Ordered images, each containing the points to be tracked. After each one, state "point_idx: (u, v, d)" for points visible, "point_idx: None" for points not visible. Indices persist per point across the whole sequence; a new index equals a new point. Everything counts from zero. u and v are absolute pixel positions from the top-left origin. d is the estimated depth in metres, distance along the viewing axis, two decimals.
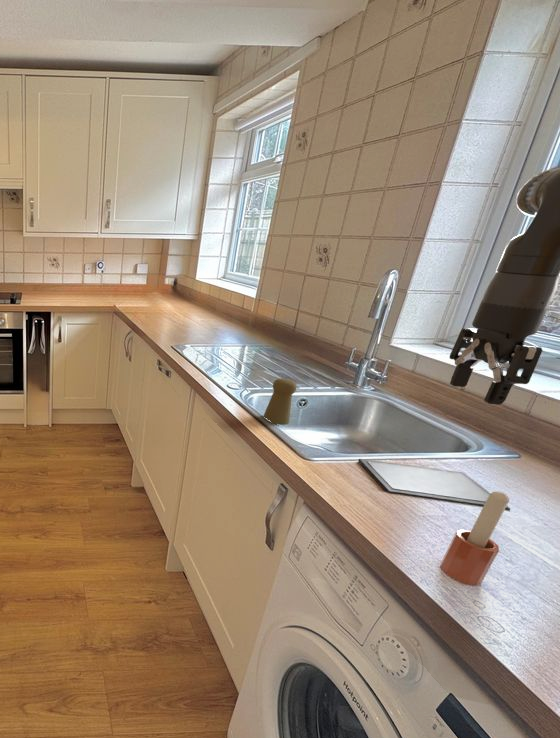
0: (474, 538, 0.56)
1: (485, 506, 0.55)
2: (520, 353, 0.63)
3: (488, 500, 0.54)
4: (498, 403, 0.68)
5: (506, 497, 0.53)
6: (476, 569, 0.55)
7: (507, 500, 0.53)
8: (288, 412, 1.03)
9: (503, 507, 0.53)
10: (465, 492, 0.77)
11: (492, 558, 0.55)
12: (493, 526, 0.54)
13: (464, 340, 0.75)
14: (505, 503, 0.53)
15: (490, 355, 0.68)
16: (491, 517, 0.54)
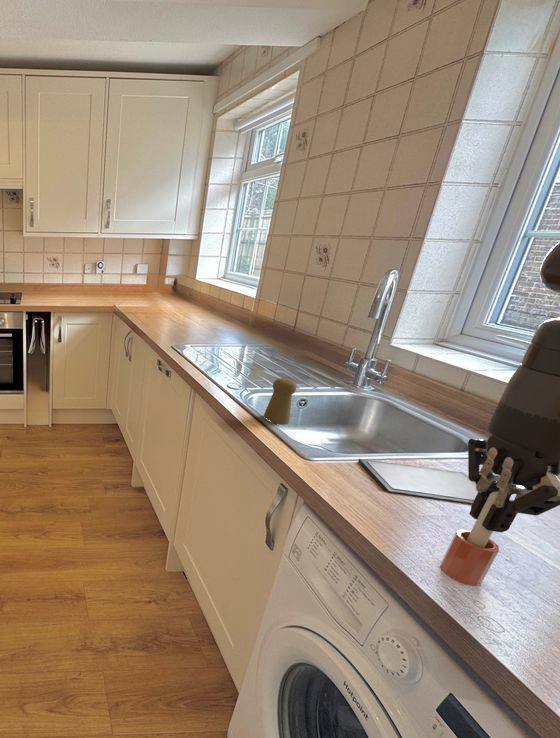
0: (474, 538, 0.56)
1: (485, 506, 0.55)
2: (542, 495, 0.47)
3: (488, 500, 0.54)
4: (500, 530, 0.54)
5: None
6: (476, 569, 0.55)
7: None
8: (288, 412, 1.03)
9: None
10: (465, 492, 0.77)
11: (492, 558, 0.55)
12: None
13: (478, 453, 0.57)
14: None
15: (506, 474, 0.51)
16: None
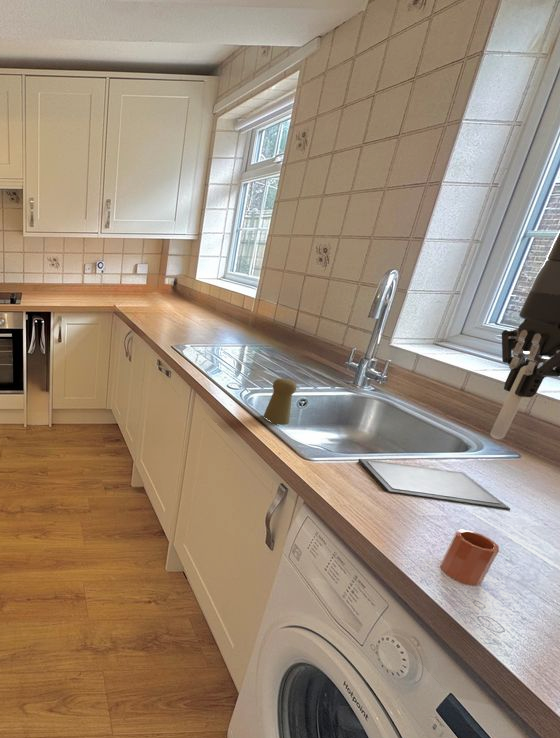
0: (508, 406, 0.71)
1: (517, 378, 0.70)
2: None
3: (519, 373, 0.69)
4: (529, 396, 0.69)
5: None
6: (476, 569, 0.55)
7: None
8: (288, 412, 1.03)
9: None
10: (465, 492, 0.77)
11: (492, 558, 0.55)
12: None
13: (510, 340, 0.72)
14: None
15: (534, 347, 0.66)
16: None
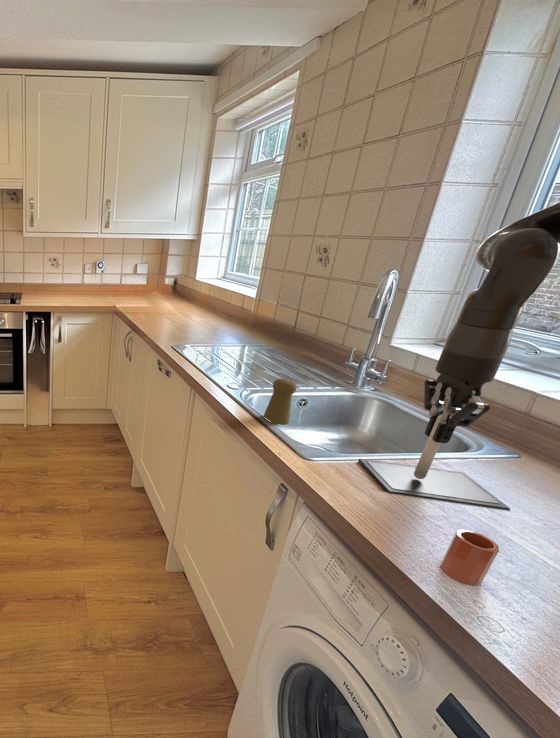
0: (427, 450, 0.78)
1: (434, 425, 0.76)
2: (468, 409, 0.69)
3: (436, 420, 0.76)
4: (444, 442, 0.75)
5: None
6: (476, 569, 0.55)
7: None
8: (288, 412, 1.03)
9: None
10: (465, 492, 0.77)
11: (492, 558, 0.55)
12: None
13: (431, 389, 0.78)
14: None
15: (447, 399, 0.73)
16: None
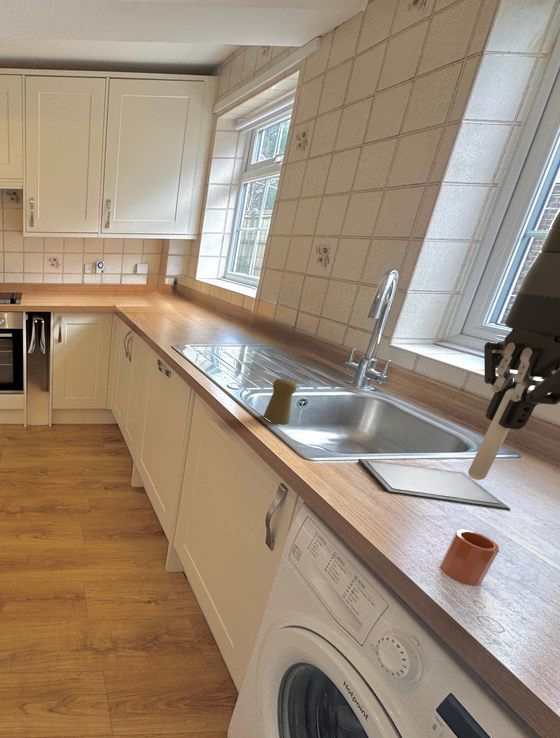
0: (489, 439, 0.55)
1: (501, 404, 0.54)
2: None
3: (504, 397, 0.54)
4: (517, 427, 0.53)
5: None
6: (476, 569, 0.55)
7: None
8: (288, 412, 1.03)
9: None
10: (465, 492, 0.77)
11: (492, 558, 0.55)
12: None
13: (495, 355, 0.56)
14: None
15: (523, 365, 0.51)
16: None
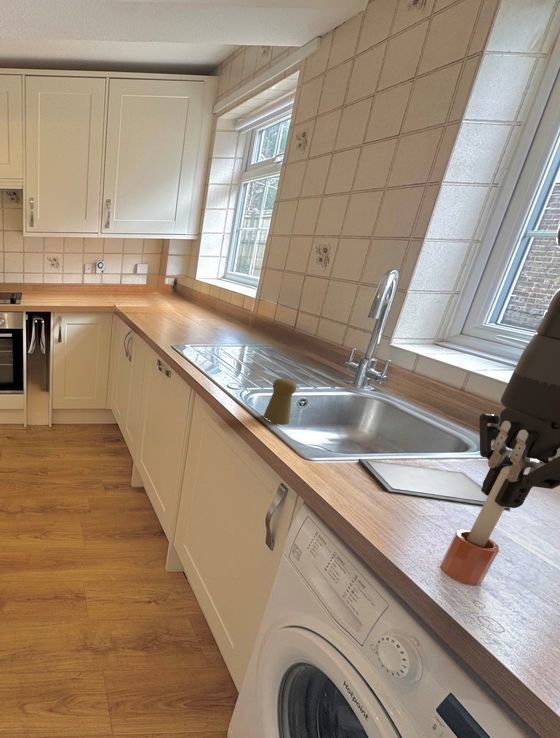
0: (485, 515, 0.54)
1: (497, 481, 0.53)
2: (559, 466, 0.46)
3: (500, 474, 0.53)
4: (513, 506, 0.52)
5: None
6: (476, 569, 0.55)
7: None
8: (288, 412, 1.03)
9: None
10: (465, 492, 0.77)
11: (492, 558, 0.55)
12: None
13: (490, 428, 0.55)
14: None
15: (520, 447, 0.50)
16: None
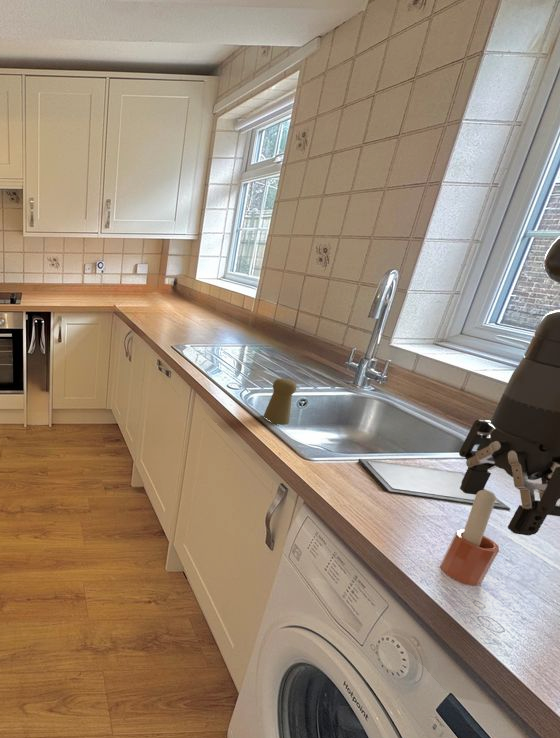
0: (467, 538, 0.56)
1: (474, 505, 0.55)
2: None
3: (475, 498, 0.55)
4: (527, 534, 0.50)
5: (492, 495, 0.53)
6: (476, 569, 0.55)
7: (494, 498, 0.53)
8: (288, 412, 1.03)
9: (491, 505, 0.53)
10: None
11: (492, 558, 0.55)
12: (484, 524, 0.54)
13: (479, 435, 0.57)
14: (492, 501, 0.53)
15: (516, 469, 0.50)
16: (481, 516, 0.54)
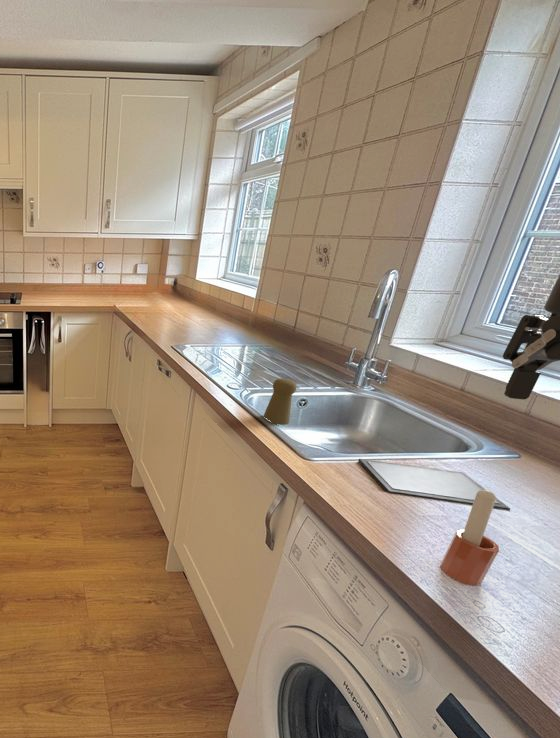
0: (467, 538, 0.56)
1: (474, 505, 0.55)
2: None
3: (475, 498, 0.55)
4: None
5: (492, 495, 0.53)
6: (476, 569, 0.55)
7: (494, 498, 0.53)
8: (288, 412, 1.03)
9: (491, 505, 0.53)
10: (465, 492, 0.77)
11: (492, 558, 0.55)
12: (484, 524, 0.54)
13: (527, 332, 0.52)
14: (492, 501, 0.53)
15: None
16: (481, 516, 0.54)
